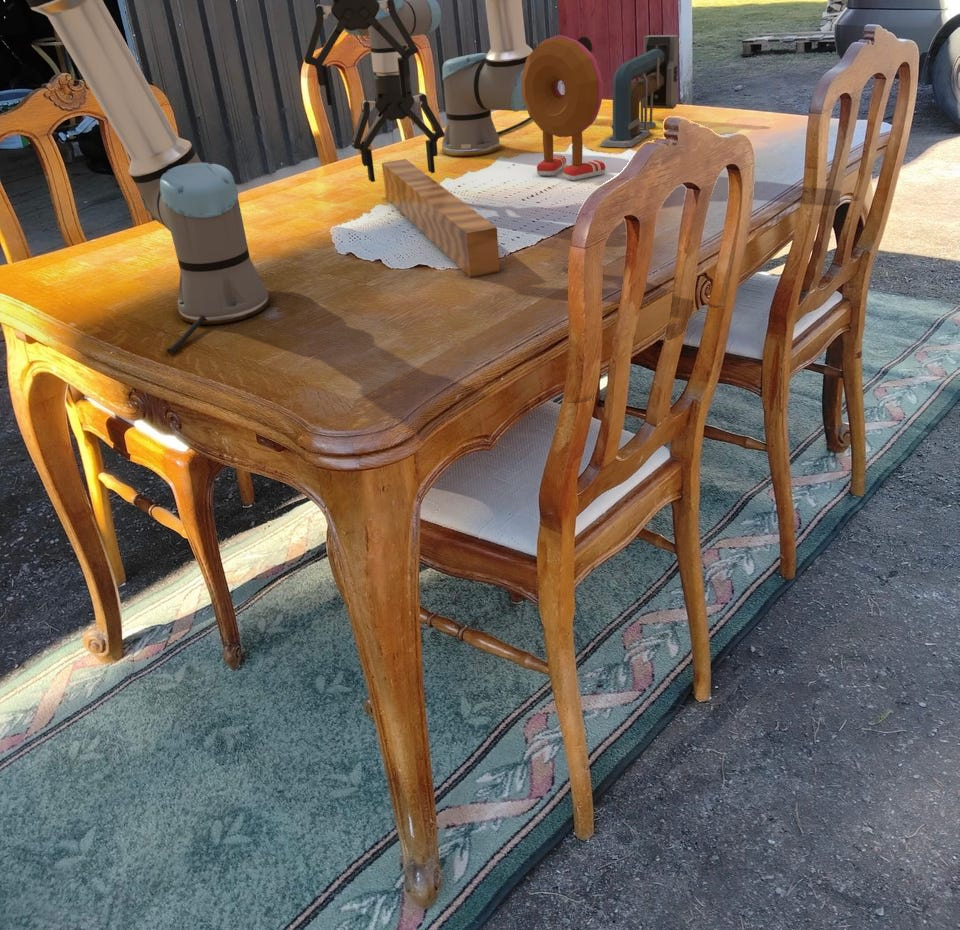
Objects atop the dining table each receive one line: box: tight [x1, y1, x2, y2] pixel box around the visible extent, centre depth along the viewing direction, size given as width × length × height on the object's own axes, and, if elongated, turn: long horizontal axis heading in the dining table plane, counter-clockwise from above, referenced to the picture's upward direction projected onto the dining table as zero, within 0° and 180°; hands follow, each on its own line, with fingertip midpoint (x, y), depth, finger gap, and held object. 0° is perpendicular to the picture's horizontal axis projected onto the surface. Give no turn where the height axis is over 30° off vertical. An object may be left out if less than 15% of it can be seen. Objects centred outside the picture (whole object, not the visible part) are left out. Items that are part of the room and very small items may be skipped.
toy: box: [521, 34, 606, 181], centre depth 218 cm, size 21×10×30 cm, turn 47°
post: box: [381, 158, 501, 278], centre depth 194 cm, size 60×6×8 cm, turn 19°
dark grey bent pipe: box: [599, 34, 679, 148], centre depth 253 cm, size 35×9×21 cm, turn 151°
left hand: (367, 100), depth 177 cm, fingers open, 13 cm apart
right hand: (402, 176), depth 212 cm, fingers open, 13 cm apart
